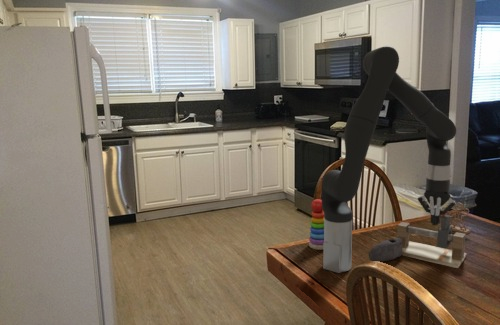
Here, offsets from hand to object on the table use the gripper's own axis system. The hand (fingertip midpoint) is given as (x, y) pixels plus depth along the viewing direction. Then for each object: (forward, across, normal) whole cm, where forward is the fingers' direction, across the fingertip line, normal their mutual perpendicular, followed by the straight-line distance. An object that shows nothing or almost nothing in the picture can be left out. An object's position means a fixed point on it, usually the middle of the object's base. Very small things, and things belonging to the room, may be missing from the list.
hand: (435, 224), depth 150 cm
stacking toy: (+12, -38, -16) cm, 42 cm away
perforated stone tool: (+12, -12, -13) cm, 22 cm away
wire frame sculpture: (+12, +1, +32) cm, 34 cm away
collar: (+7, +3, 0) cm, 8 cm away
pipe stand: (+12, -1, 0) cm, 12 cm away
